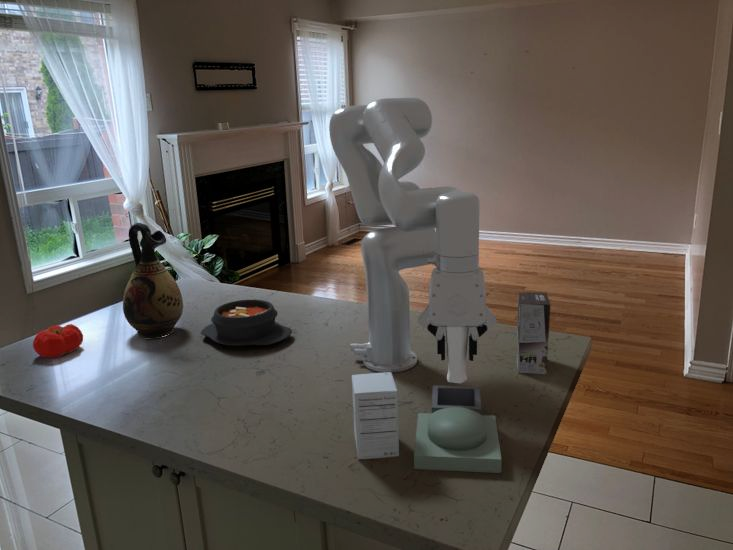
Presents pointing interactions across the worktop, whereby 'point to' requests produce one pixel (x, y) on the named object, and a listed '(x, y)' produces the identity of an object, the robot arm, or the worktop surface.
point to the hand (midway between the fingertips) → (457, 356)
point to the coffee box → (532, 332)
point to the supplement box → (375, 415)
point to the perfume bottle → (456, 353)
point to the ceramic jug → (150, 288)
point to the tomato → (57, 341)
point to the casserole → (246, 324)
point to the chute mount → (457, 433)
